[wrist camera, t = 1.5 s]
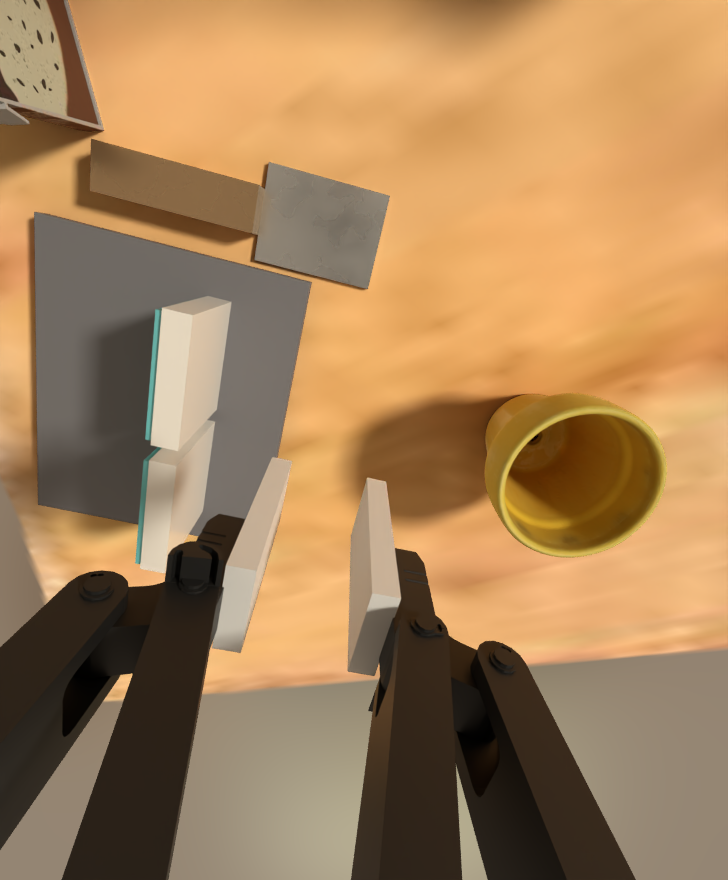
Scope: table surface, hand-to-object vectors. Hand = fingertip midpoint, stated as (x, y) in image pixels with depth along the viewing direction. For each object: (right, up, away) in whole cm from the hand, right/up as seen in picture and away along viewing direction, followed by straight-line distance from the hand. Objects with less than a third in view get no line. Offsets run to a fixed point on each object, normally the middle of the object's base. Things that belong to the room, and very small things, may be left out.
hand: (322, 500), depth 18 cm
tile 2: (-12, 0, +18) cm, 22 cm away
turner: (-6, +18, +13) cm, 23 cm away
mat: (-13, +5, +18) cm, 23 cm away
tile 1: (-9, +8, +15) cm, 20 cm away
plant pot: (+15, +3, +19) cm, 24 cm away
